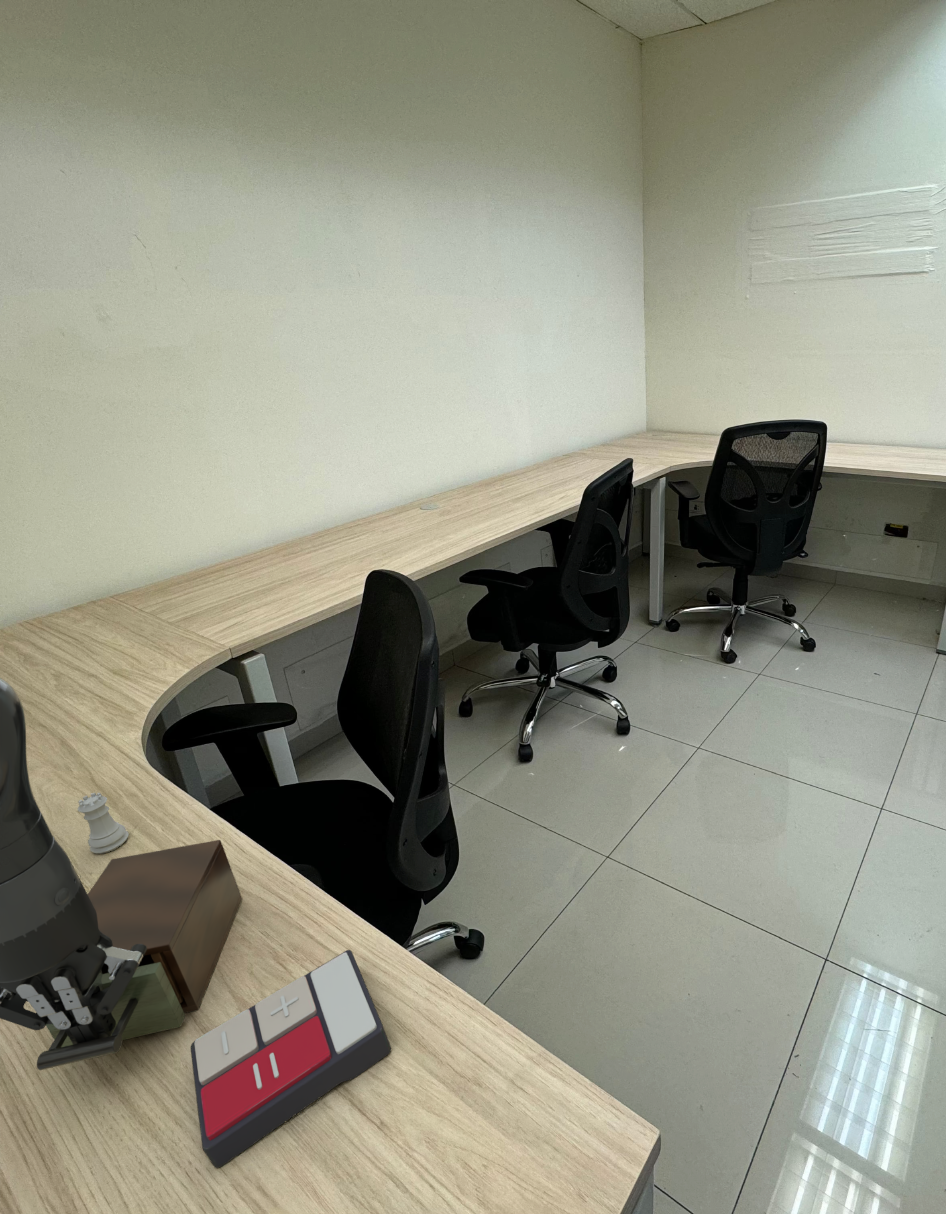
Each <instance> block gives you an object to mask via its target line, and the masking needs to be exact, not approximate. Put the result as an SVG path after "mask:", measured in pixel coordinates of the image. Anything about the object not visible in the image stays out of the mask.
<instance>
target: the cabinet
mask: <svg viewBox="0 0 946 1214" xmlns="http://www.w3.org/2000/svg"><path fill="white" fill-rule="evenodd" d="M87 894H88V896H89V898H90V900H91V902H92V904H93V906H94V908H95V910H96V913H97V920H98V928H99V930H100V931H101V932H102V933H103V934H104V935H106V936H108V937H109V938H110V939H111V940H112V943H113V947H116V948H120V949H125V950H129V951H130V950H131V948H132V946H134V945H135V944H143V945H145V946H146V947H147V950H146V952H145V954H144V955H149V954H154V953H159V952H163V954H164V956H165V958H166V960H167V962H168V965H169V967H170V969H171V971H172V973H173V975H174V978H175V980H176V982H177V984H178V986H179V988H180V991H181V993H182V995H183V997H184V999H183V1001H182V1003H180V1005H181V1007H182V1010H183V1012H184V1014H187V1013H190V1012H195V1011H196V1012H197V1011H198V1010H199V1009H200V1007H201V1005H202V1001H203V999H204V997H205V994H206V991H207V989H208V988H209V987H208V986H209V984H210V982H211V979H212V977H213V974H214V971H215V969H216V967H217V964H218V962H219V959H220V957H221V954H222V952H223V949H224V946H225V945H226V944H225V943H226V941H227V938H228V937H229V934H230V931H231V928H232V926H233V923H234V920H235V919H236V916H237V913H238V911H239V908H240V906H241V904H242V901H243V897H242V895H241V892H240V888H239V886H238V883H237V881H236V878H235V875H234V873H233V870H232V866H231V864H230V862H229V858H228V856H227V853H226V851H225V848H224V846H223V843H222V841H221V839H216V840H211V841H205V842H199V843H194V844H188V845H184V846H177V847H171V848H167V849H161V850H156V851H149V852H144V853H139V854H133V855H128V856H127V855H126V856H122V857H117V858H111V859H110V861H109V862H108V864H107V865H106V867H105V868H104V870H103V871H102V873H101V874H100V875H99V877H98V878H97V880H96V881H95V883H94V884H93V885H92V886H91V888H90V889H89V891H88V892H87ZM104 964H105V963H104Z"/></svg>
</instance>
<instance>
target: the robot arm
mask: <svg viewBox="0 0 946 1214" xmlns="http://www.w3.org/2000/svg"><path fill="white" fill-rule="evenodd" d="M27 756H28V755H27V723H26V715H25V709H24V705H23V702H22V700H21V697H20V695H19V694H18V693H17V691H16V690H15V689H14V687H13V686H12V685H10V683H9V682H7V680H5V679H3V678H1V677H0V1019H1V1020H3V1021H7V1022H9V1023H11V1024H16V1025H18V1026H20V1027H24V1028H26V1029H30V1030H33V1031H41V1030H43V1029H44V1028H45V1027H46V1024H53V1025H54V1026H55V1027H56V1028H57V1029H61V1030H65V1032H66V1033H67V1035H68V1037H70V1040H71V1042H72V1044H73V1045H74V1044H78V1043H83V1042H87V1041H91V1040H96V1039H100V1038H105V1037H109V1036H111V1034H112V1032H113V1030H114V1028H115V1026H116V1021H115V1019H114V1017H113V1016H112V1014H111V1012H112V1010H113V1009H114V1007H115V1005H116V1004H117V1002H118V1000H119V999H120V997H121V995H122V994H123V992H124V990H125V989H126V987H127V985H128V984H129V982H130V980H131V979H132V977H133V975H134V973H135V972H136V970H137V968H138V966H139V964H140V962H141V960H142V958H143V956H144V954H145V952H146V950H147V947H146V946H145V945H143V944H135V945H134V946H132V948H131V950H130V951H129V950H125V949H120V948H116V947H113V943H112V940H111V939H110V938H109V937H108V936H106V935H104V934H103V933H102V932H101V931H100V930H99V928H98V920H97V913H96V910H95V908H94V906H93V904H92V902H91V900H90V898H89V896H88V892H87V890H86V889H85V887H84V884H83V882H82V881H81V879H80V877H79V875H78V873H77V871H76V868H75V867H74V864H73V863H72V861H71V859H70V857H69V856H68V853H67V852H66V851H65V849H64V848H63V847H62V846H61V844H59V842H58V841H57V840H56V838H55V836H54V834H53V833H52V831H51V829H50V826H49V825H48V823H47V821H46V819H45V817H44V815H43V813H42V811H41V809H40V807H39V805H38V802H37V801H36V798H35V796H34V793H33V789H32V786H31V781H30V774H29V768H28V757H27ZM104 963H105V964H107V965H108V967H109V969H108V972H109V974H110V976H109V979H110V980H112V982H111V984H110V985H109V987H108V988H106V989H104V987H103V985H102V982H101V978H102V970H101V969H102V967H103V965H104ZM27 1002H28V1003H29V1005H30V1006H31V1007H32V1008H33V1010H34V1011H35V1012H34V1011H32V1010H29V1009H27V1008H25V1004H26V1003H27Z"/></svg>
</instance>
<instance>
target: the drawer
mask: <svg viewBox="0 0 946 1214" xmlns="http://www.w3.org/2000/svg"><path fill="white" fill-rule="evenodd" d="M108 969H109V967H108V965H107V964H104V965H103V967H102V969H101V970H102V978H101V982H102V985H103V987H104V989H106V988H108V987H109V985H110V984H111V982H112V980H110V979H109V976H110V974H109V972H108ZM183 999H184V997H183V995H182V993H181V991H180V988H179V986H178V984H177V982H176V980H175V978H174V975H173V973H172V971H171V969H170V967H169V965H168V962H167V960H166V958H165V956H164V954H163V952H159V953H154V954H149V955H144V956H143V958H142V960H141V962H140V964H139V966H138V968H137V970H136V972H135V973H134V975H133V977H132V979H131V980H130V982H129V984H128V985H127V987H126V989H125V990H124V992H123V994H122V995H121V997H120V999H119V1000H118V1002H117V1004H116V1005H115V1007H114V1009H113V1010H112V1012H111V1014H112V1016H113V1017H114V1019H115V1021H116V1026H115V1028H114V1030H113V1032H112V1034H111V1036H109V1037H105V1038H100V1039H96V1040H91V1041H87V1042H83V1043H78V1044H74V1045H73V1044H72V1042H71V1040H70V1037H68V1035H67V1033H66V1032H65V1030H61V1029H57V1028H56V1027H55V1026H54V1025H53V1024H46V1026H45V1027H46V1029H47V1030H48V1032H49V1034H50V1035H51V1037H52V1039H53V1042H52V1043H51V1045H50V1047H49V1049H48V1050H44V1051H42V1052H41V1053H40V1054H39V1055H38V1058H37V1060H36V1068H37V1070H39V1071H44V1070H47V1069H53V1068H57V1067H61V1066H64V1065H69V1064H74V1063H78V1062H82V1061H86V1060H91V1059H95V1058H99V1057H104V1056H108V1055H112V1054H116V1053H118V1052H120V1050H121V1048H122V1047H123V1046H122V1045H123V1041H124V1040H129V1039H130V1040H131V1039H134V1038H137V1037H142V1036H147V1035H151V1034H155V1033H160V1032H165V1031H168V1030H169V1031H170V1030H173V1029H178V1028H180V1027H182V1024H183V1022H184V1019H185V1017H186V1013H184V1012H183V1010H182V1007H181V1005H180V1003H182V1001H183Z"/></svg>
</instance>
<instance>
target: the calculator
mask: <svg viewBox="0 0 946 1214" xmlns="http://www.w3.org/2000/svg"><path fill="white" fill-rule="evenodd" d="M390 1043H391V1042H390V1041H389V1038H388V1035H387V1033H386V1030H385V1027H384V1025H383V1022H382V1020H381V1018H380V1016H379V1013H378V1010H377V1008H376V1006H375V1003H374V1001H373V999H372V996H371V994H370V992H369V989H368V987H367V984H366V981H365V980H364V977H363V975H362V972H361V970H360V968H359V965H358V963H357V960H356V958H355V956H354V953H353V951H352V950H350V949H347V950H344V951H343V952H341V953H339V954H338V955H336V956H334V957H333V958H331V959H330V960H328V961H326V962H325V963H323V964H321V965H319V966H318V967H316V968H315V969H313V970H311V971H309V972H308V973H306V974H304V975H302V976H300V977H298V978H297V979H295V980H293V981H292V982H290V983H288V984H286V985H285V986H283V987H282V988H279V989H278V990H276V991H275V992H273V993H271V994H270V995H268V996H266V997H264V998H263V999H261V1000H260V1001H258V1002H257V1003H256V1004H254V1005H252V1006H251V1007H249V1008H247V1009H245V1010H242V1011H241V1012H240V1013H238V1014H236V1015H235V1016H233V1017H230V1018H228V1020H226V1021H224V1022H222V1023H221V1024H219V1025H218V1026H215V1027H214V1028H212V1029H210V1030H209V1031H207V1032H205V1033H204V1034H202V1035H201V1036H199V1037H197V1038H196V1039H195V1040H194V1041H193V1042H192V1043H191V1044H190V1055H191V1065H192V1072H193V1073H192V1074H193V1081H194V1089H195V1097H196V1098H195V1099H196V1105H197V1115H198V1123H199V1132H200V1141H201V1147H202V1150H203V1152H204V1154H205V1155H206V1157H207V1159H208V1160H209V1161H210V1163H211V1164H212V1166H213V1167H214V1168H215V1169H219V1168H221V1167H223V1166H224V1165H226V1164H227V1163H228V1162H230V1161H231V1160H233V1159H234V1158H236V1157H237V1156H239V1155H240V1154H241V1153H243V1152H244V1151H246V1150H247V1149H249V1148H250V1147H251V1146H253V1145H254V1144H256V1143H257V1142H259V1141H260V1140H261V1139H263V1138H264V1137H266V1136H267V1135H268V1134H270V1133H271V1132H273V1131H274V1130H276V1129H277V1128H279V1127H280V1126H281V1125H283V1124H284V1123H285V1122H287V1121H288V1120H290V1119H291V1118H293V1117H294V1116H296V1115H297V1114H299V1113H300V1112H301V1111H303V1110H304V1109H306V1108H307V1107H309V1106H310V1105H311V1104H313V1103H314V1102H316V1101H317V1100H318V1099H320V1098H321V1097H323V1096H324V1095H325V1094H328V1092H330V1091H332V1090H333V1089H334V1088H336V1087H338V1086H339V1085H340V1084H342V1083H345V1082H347V1081H350V1080H354V1079H355V1078H357V1077H358V1076H360V1075H361V1074H363V1073H364V1072H365V1071H367V1070H368V1069H370V1068H372V1066H374V1065H376V1064H377V1063H378V1062H380V1061H381V1060H382V1059H384V1058H385V1057H386V1056H388V1055H389V1054H390V1053H391V1051H392V1046H391V1044H390Z"/></svg>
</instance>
